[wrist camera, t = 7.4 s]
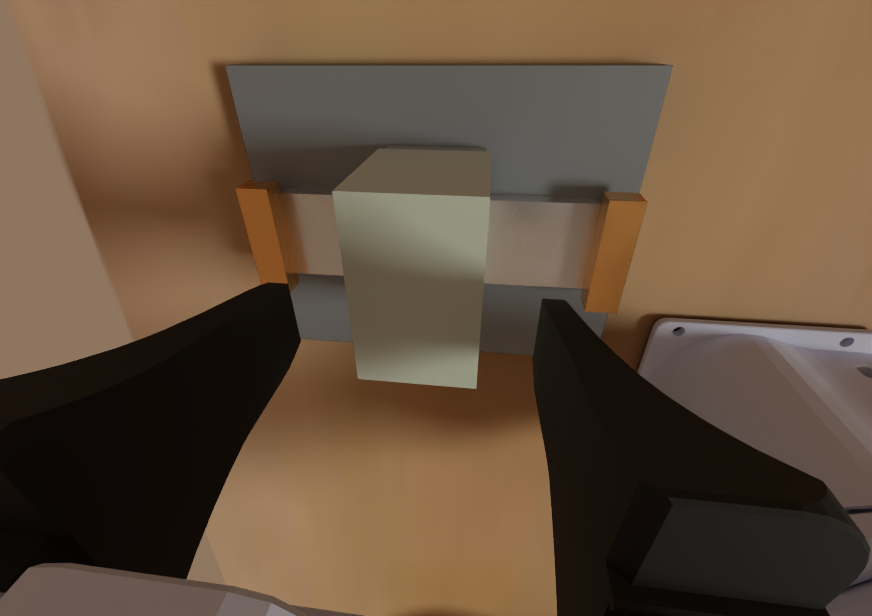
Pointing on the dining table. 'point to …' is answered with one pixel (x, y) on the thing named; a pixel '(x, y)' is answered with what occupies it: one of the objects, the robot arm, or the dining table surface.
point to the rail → (506, 240)
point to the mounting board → (452, 127)
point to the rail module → (416, 262)
